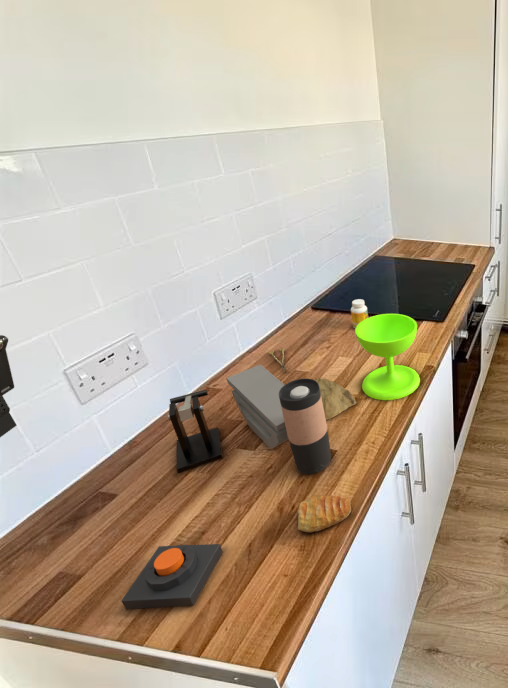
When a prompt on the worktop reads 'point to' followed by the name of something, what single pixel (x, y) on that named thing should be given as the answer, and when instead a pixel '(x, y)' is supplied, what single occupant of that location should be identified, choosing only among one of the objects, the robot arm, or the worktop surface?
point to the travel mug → (306, 425)
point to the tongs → (278, 360)
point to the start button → (169, 562)
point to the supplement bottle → (358, 312)
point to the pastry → (322, 512)
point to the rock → (334, 398)
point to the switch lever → (187, 404)
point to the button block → (174, 579)
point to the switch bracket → (195, 440)
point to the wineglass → (388, 355)
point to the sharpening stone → (260, 403)
